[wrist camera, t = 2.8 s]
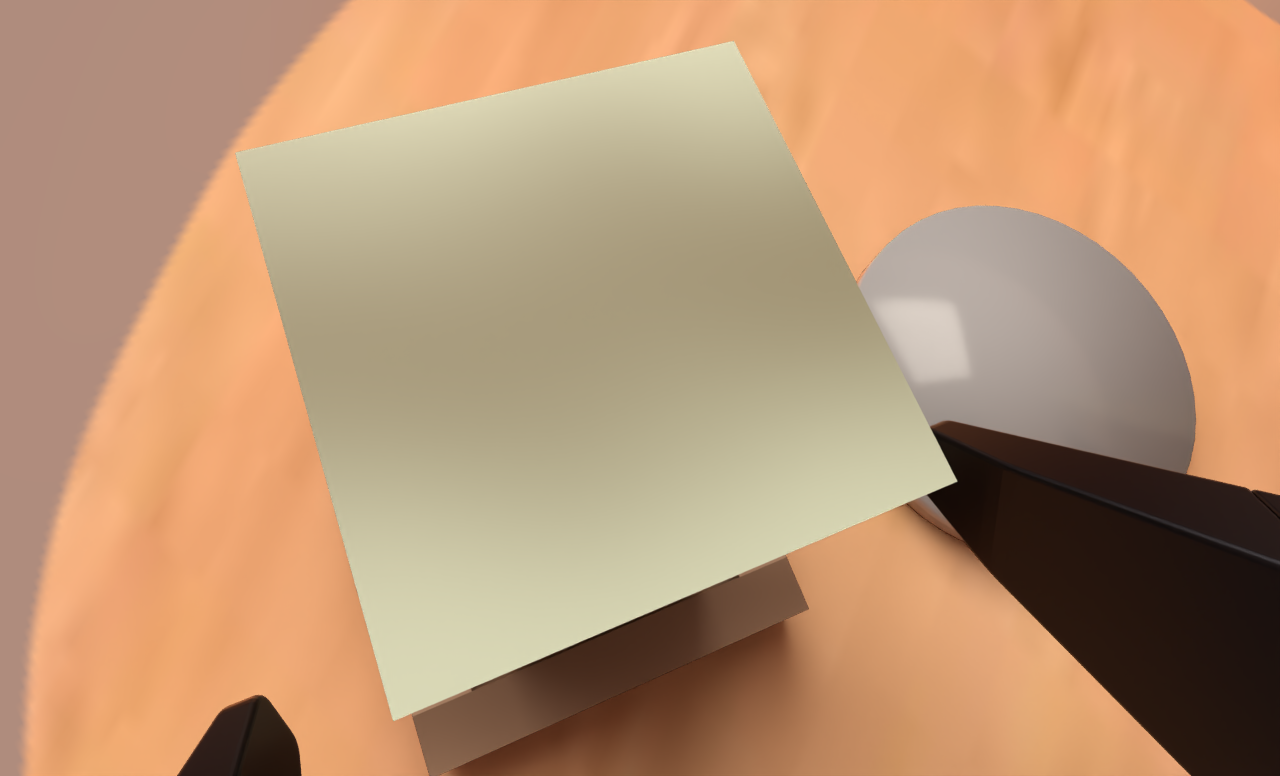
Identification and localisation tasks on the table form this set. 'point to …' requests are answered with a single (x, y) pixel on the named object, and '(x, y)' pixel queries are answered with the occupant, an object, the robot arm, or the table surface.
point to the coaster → (1031, 338)
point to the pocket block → (605, 665)
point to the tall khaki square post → (574, 359)
